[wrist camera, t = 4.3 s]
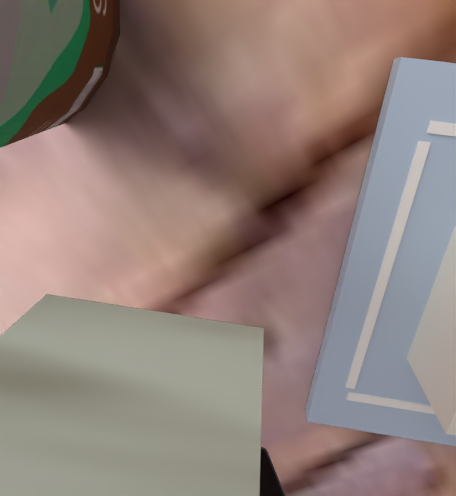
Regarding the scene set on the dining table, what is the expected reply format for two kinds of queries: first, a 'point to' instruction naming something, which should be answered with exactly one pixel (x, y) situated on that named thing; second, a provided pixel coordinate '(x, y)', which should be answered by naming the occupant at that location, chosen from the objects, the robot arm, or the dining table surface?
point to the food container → (52, 61)
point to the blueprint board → (399, 273)
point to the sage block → (128, 403)
